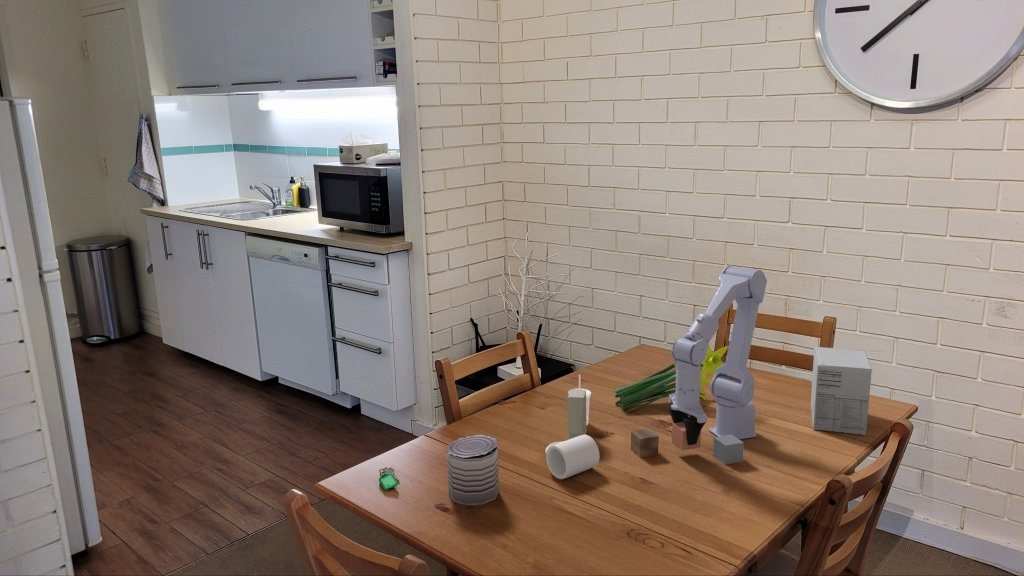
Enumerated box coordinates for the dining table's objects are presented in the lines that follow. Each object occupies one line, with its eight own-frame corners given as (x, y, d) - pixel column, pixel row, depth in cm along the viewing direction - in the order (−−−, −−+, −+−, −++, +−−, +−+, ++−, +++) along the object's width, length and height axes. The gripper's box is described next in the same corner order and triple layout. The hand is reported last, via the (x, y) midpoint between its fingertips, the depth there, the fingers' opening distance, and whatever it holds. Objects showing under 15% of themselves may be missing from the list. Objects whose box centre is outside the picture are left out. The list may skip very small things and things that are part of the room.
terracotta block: (689, 439, 188) (690, 420, 187) (700, 447, 183) (701, 428, 182) (671, 442, 186) (672, 423, 185) (682, 450, 182) (682, 431, 180)
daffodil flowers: (607, 398, 226) (712, 358, 231) (629, 437, 216) (737, 395, 221) (605, 365, 213) (716, 324, 218) (628, 405, 204) (743, 361, 209)
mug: (599, 472, 178) (600, 440, 176) (567, 484, 172) (567, 452, 170) (566, 454, 187) (566, 424, 185) (535, 466, 181) (534, 435, 180)
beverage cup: (565, 426, 204) (565, 377, 201) (572, 417, 209) (572, 370, 206) (587, 429, 202) (587, 379, 198) (593, 420, 207) (593, 372, 204)
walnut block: (648, 446, 191) (649, 428, 189) (658, 454, 186) (658, 436, 185) (630, 449, 189) (631, 431, 188) (639, 458, 184) (640, 439, 183)
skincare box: (584, 442, 194) (584, 398, 191) (567, 441, 194) (566, 397, 192) (586, 432, 200) (586, 389, 197) (570, 431, 200) (570, 388, 198)
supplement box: (867, 436, 194) (873, 369, 190) (812, 430, 198) (816, 365, 194) (860, 411, 210) (865, 349, 206) (809, 406, 214) (813, 345, 210)
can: (480, 510, 161) (478, 459, 159) (438, 497, 167) (435, 447, 164) (508, 488, 171) (507, 439, 168) (467, 476, 177) (466, 429, 174)
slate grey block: (730, 453, 186) (731, 434, 185) (742, 461, 181) (743, 442, 180) (713, 456, 185) (713, 437, 183) (724, 464, 180) (725, 445, 179)
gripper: (658, 379, 187) (657, 430, 190) (688, 399, 173) (686, 454, 176) (683, 375, 189) (682, 426, 192) (715, 395, 175) (713, 449, 178)
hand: (686, 439), depth 184 cm, fingers closed on terracotta block, 5 cm apart
